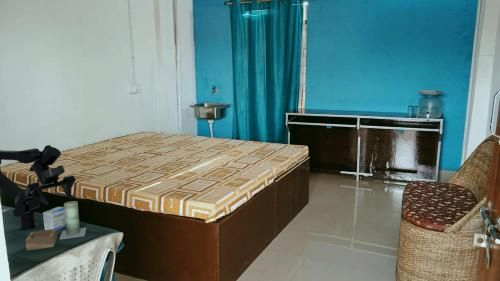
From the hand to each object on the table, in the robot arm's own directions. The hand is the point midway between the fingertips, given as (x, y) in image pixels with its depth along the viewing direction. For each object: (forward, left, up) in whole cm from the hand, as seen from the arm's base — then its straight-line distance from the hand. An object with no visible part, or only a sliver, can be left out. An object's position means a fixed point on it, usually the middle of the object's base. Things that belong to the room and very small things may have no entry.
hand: (59, 201), depth 148 cm
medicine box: (-8, -4, -14) cm, 17 cm away
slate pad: (+2, +4, -14) cm, 14 cm away
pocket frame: (+9, -6, -14) cm, 17 cm away
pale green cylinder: (+2, +4, -13) cm, 14 cm away
